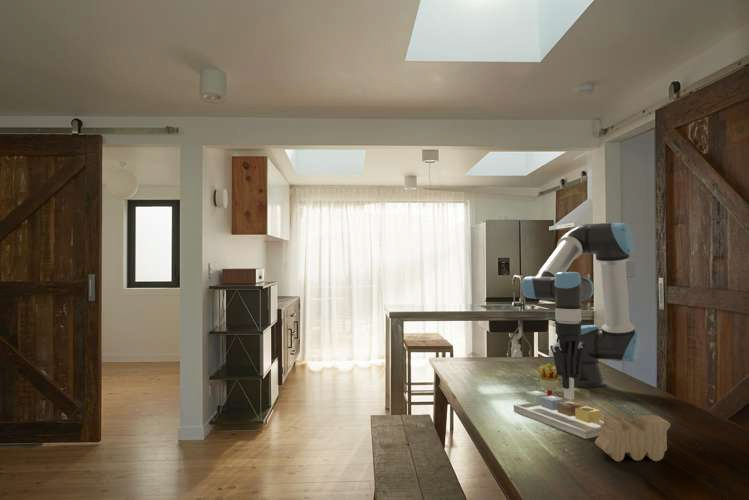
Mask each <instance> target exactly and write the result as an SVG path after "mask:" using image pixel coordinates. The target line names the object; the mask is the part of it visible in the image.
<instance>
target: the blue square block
mask: <svg viewBox="0 0 749 500" xmlns="http://www.w3.org/2000/svg"><path fill="white" fill-rule="evenodd" d="M553 395H554V394H553ZM553 395H551V396H545V397H541V407H544V408H547V409H550V410H558V402H564V401H565V400H564V399H565V398H562V397H559V396H556V395H554V396H553Z"/></svg>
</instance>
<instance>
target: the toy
mask: <svg viewBox="0 0 749 500" xmlns="http://www.w3.org/2000/svg"><path fill="white" fill-rule="evenodd" d="M537 370H538V372H539V379H540V380H539V381H540V385H541V387H542V388H543V389H544V390H546V391H547V392H546V393H547V395H548V396H551V395H553V396H555V395H554V393H553V391H555V390H556V389H557V388H558V387H559V384H560V379H559V376H558V375H557V372H556V366H555V365H552V364H551V363H546V364H544V365H540V366H539V367H538V369H537Z"/></svg>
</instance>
